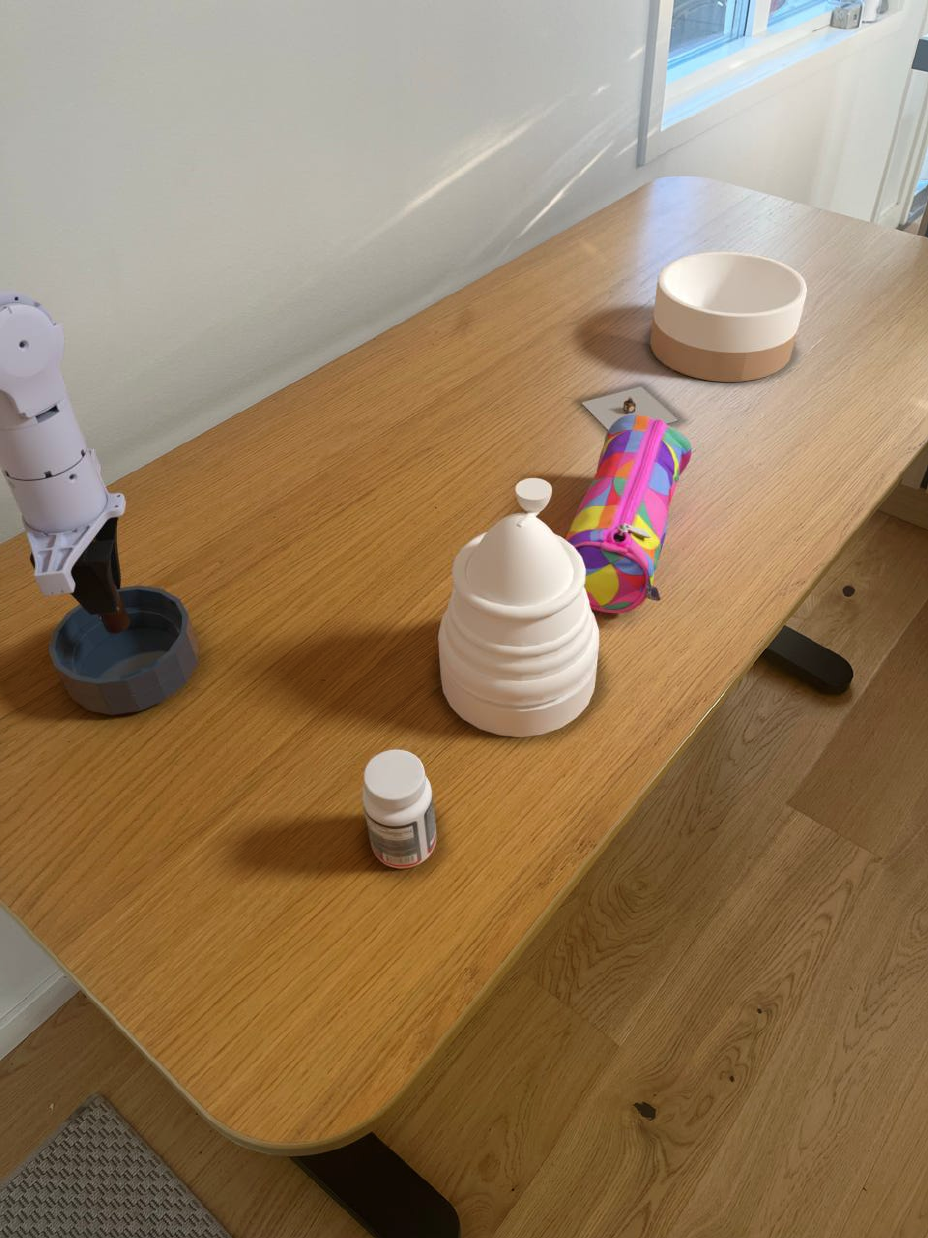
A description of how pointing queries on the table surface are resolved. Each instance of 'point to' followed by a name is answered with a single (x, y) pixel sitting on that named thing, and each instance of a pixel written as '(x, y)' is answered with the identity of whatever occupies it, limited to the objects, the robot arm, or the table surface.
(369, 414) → the table surface
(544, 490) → the honey pot
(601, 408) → the grey flat square sheet
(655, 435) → the pencil case
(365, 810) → the pill bottle
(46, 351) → the robot arm
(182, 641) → the mixing bowl
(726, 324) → the bowl
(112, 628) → the stirring stick
